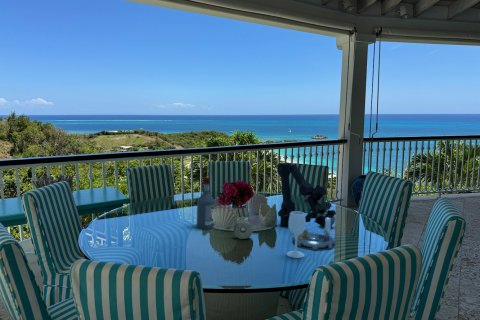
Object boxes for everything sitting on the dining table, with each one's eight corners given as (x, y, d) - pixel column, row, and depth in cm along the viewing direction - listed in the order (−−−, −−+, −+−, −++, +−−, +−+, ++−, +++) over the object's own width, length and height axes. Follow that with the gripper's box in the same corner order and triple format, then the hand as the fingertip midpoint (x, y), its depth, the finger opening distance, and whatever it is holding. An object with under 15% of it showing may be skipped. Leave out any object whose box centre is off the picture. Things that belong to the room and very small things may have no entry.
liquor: (194, 227, 224) (195, 178, 221) (203, 224, 232) (204, 176, 229) (207, 230, 220) (208, 179, 217) (215, 226, 228) (217, 177, 225)
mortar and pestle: (335, 230, 229) (336, 210, 228) (319, 228, 231) (320, 209, 229) (333, 225, 240) (334, 206, 239) (318, 224, 242) (319, 205, 240)
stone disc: (233, 239, 206) (233, 221, 205) (233, 237, 209) (234, 219, 208) (252, 240, 205) (252, 222, 204) (252, 238, 209) (253, 220, 208)
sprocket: (292, 247, 193) (293, 221, 191) (291, 234, 215) (292, 210, 214) (337, 251, 190) (339, 224, 188) (332, 237, 212) (333, 213, 211)
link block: (295, 235, 206) (295, 228, 206) (300, 234, 209) (300, 227, 208) (302, 238, 203) (303, 230, 202) (307, 236, 205) (307, 229, 205)
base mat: (311, 253, 187) (311, 252, 187) (283, 240, 206) (283, 239, 206) (343, 246, 199) (343, 246, 199) (315, 234, 218) (315, 234, 218)
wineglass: (284, 251, 188) (286, 210, 186) (302, 251, 189) (304, 210, 187) (288, 258, 179) (290, 215, 177) (306, 258, 180) (308, 215, 178)
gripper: (309, 198, 201) (322, 223, 193) (334, 195, 210) (348, 219, 202) (298, 209, 209) (311, 234, 200) (324, 206, 218) (336, 230, 210)
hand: (327, 229), depth 203 cm, fingers closed
